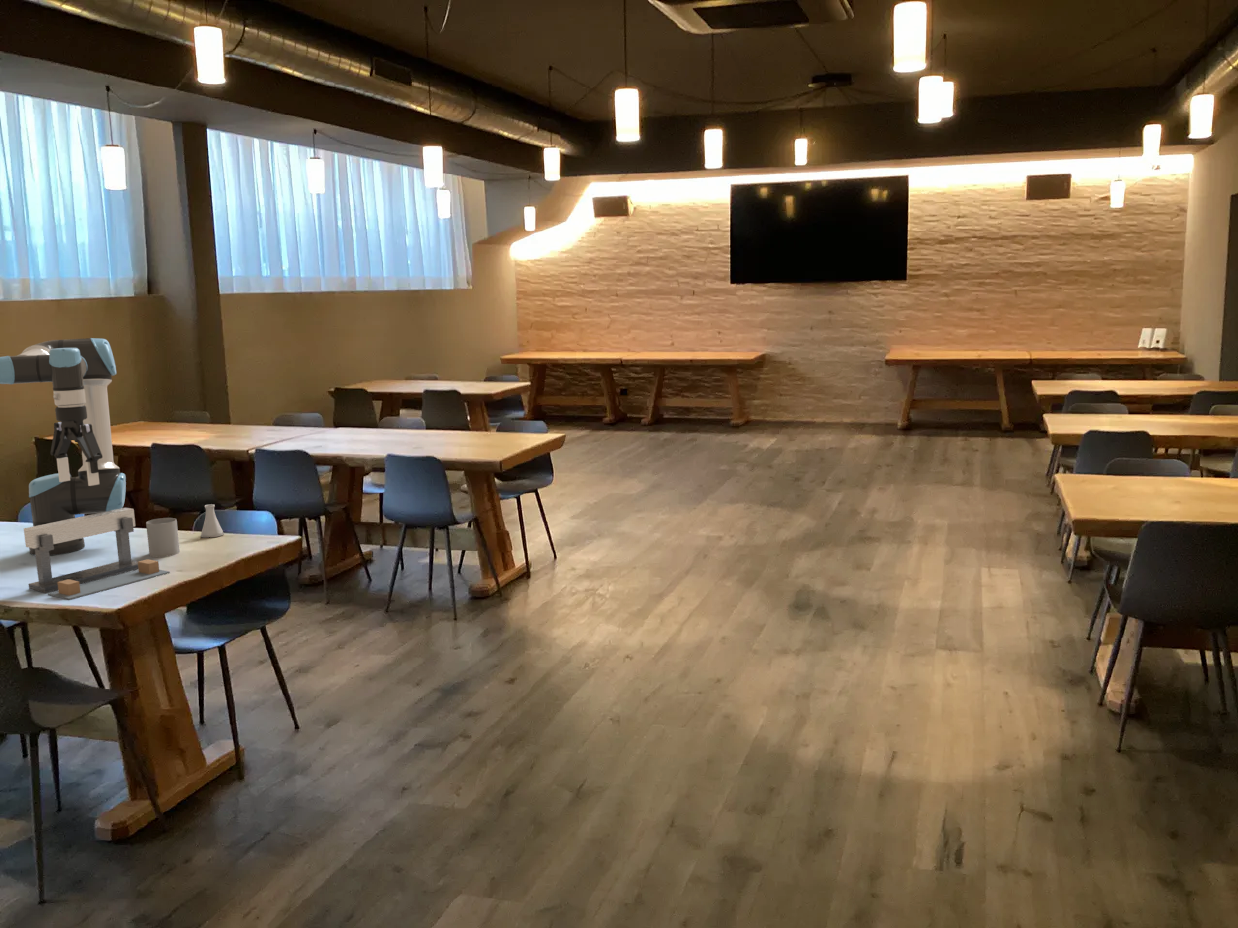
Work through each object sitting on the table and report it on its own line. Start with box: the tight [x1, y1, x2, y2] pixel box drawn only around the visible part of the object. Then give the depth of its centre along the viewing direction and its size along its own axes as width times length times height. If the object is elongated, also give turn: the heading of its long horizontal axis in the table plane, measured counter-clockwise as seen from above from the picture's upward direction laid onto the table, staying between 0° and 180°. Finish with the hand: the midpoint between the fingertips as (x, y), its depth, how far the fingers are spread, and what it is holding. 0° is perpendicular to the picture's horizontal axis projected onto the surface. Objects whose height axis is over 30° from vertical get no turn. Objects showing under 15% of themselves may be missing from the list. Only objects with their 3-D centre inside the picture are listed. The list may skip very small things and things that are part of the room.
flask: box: [200, 503, 224, 538], centre depth 341 cm, size 7×7×10 cm
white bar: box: [23, 507, 136, 549], centre depth 291 cm, size 4×29×5 cm, turn 147°
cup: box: [145, 517, 181, 558], centre depth 319 cm, size 8×8×10 cm
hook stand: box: [28, 517, 139, 594], centre depth 293 cm, size 8×28×15 cm, turn 147°
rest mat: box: [47, 558, 171, 601], centre depth 288 cm, size 10×29×3 cm, turn 147°
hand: (79, 483), depth 290 cm, fingers open, 13 cm apart
